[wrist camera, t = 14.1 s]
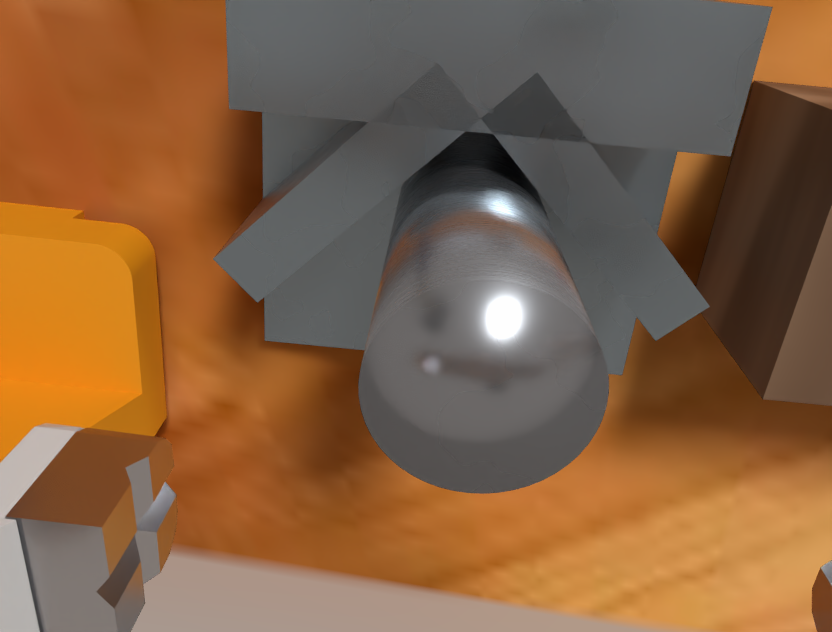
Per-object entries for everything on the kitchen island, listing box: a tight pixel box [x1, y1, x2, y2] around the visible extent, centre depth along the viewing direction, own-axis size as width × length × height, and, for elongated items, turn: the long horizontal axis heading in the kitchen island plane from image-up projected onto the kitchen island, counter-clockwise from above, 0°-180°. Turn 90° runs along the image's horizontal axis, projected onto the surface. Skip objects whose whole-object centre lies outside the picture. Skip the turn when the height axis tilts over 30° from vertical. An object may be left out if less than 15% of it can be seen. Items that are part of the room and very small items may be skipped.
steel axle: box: [359, 132, 609, 493], centre depth 16 cm, size 4×4×11 cm
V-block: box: [213, 0, 772, 375], centre depth 19 cm, size 12×12×6 cm
